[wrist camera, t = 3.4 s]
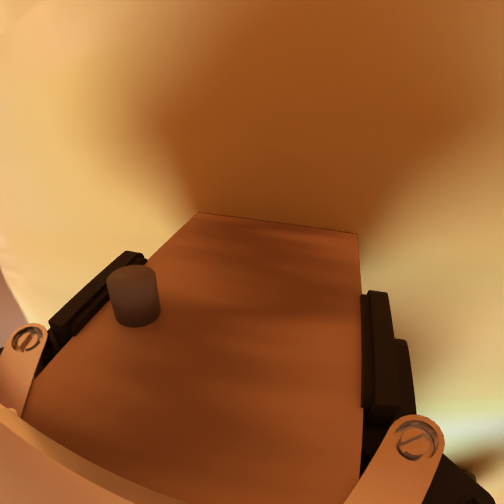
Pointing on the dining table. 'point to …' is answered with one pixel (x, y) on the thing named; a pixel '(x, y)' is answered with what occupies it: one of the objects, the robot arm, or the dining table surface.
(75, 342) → the door
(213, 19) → the dining table surface
